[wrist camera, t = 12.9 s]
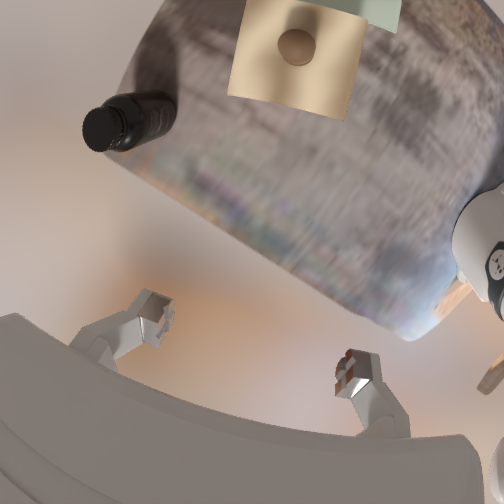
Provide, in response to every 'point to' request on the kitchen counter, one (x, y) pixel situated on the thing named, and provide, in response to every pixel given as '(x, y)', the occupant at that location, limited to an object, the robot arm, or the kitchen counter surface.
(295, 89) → the oak lid
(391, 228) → the kitchen counter surface
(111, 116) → the supplement bottle
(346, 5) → the sage mat
